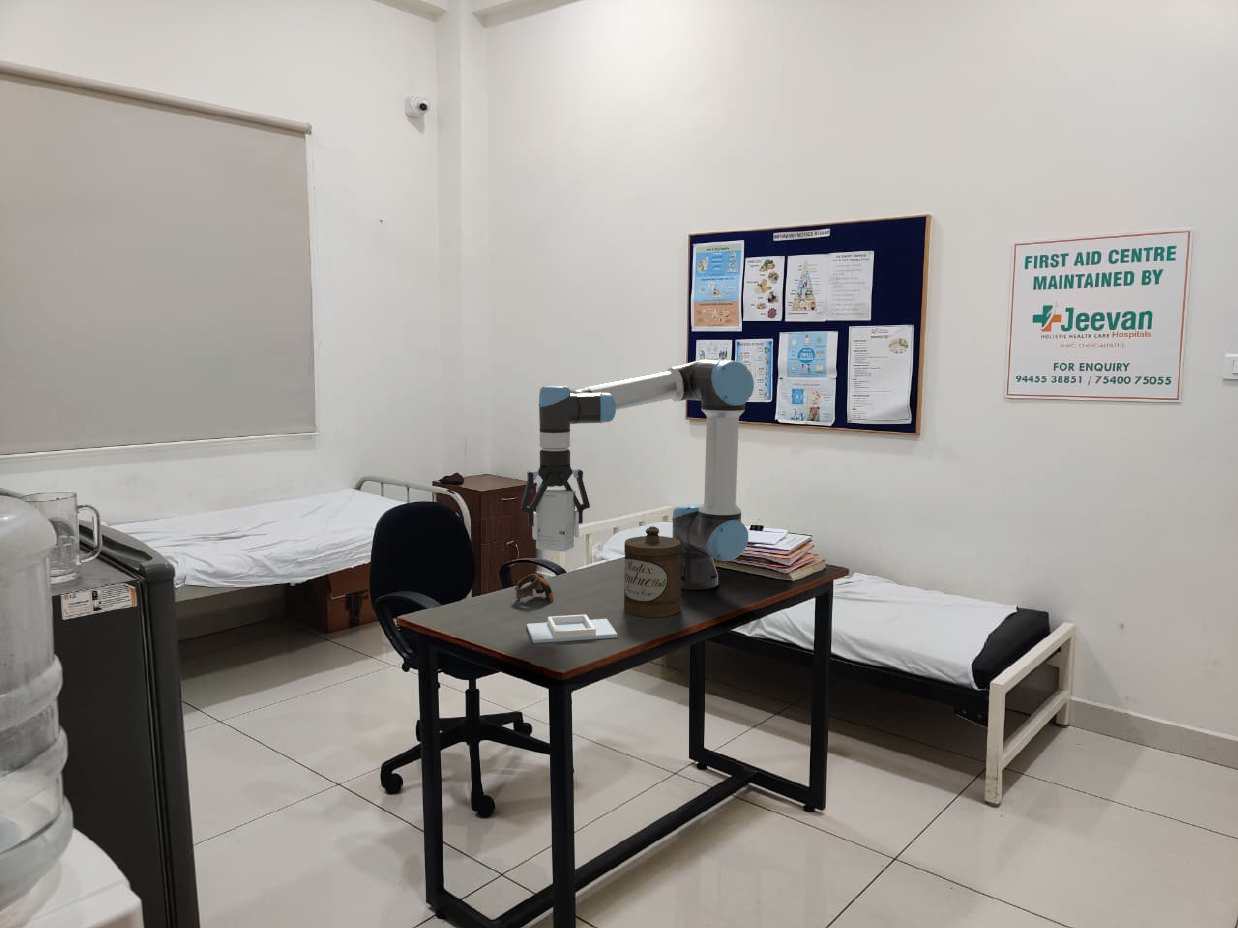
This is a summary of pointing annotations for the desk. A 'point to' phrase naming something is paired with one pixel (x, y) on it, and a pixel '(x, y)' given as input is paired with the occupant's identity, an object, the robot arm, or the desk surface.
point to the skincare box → (555, 520)
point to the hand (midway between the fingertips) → (555, 537)
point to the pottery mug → (533, 587)
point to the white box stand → (570, 629)
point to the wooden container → (652, 575)
